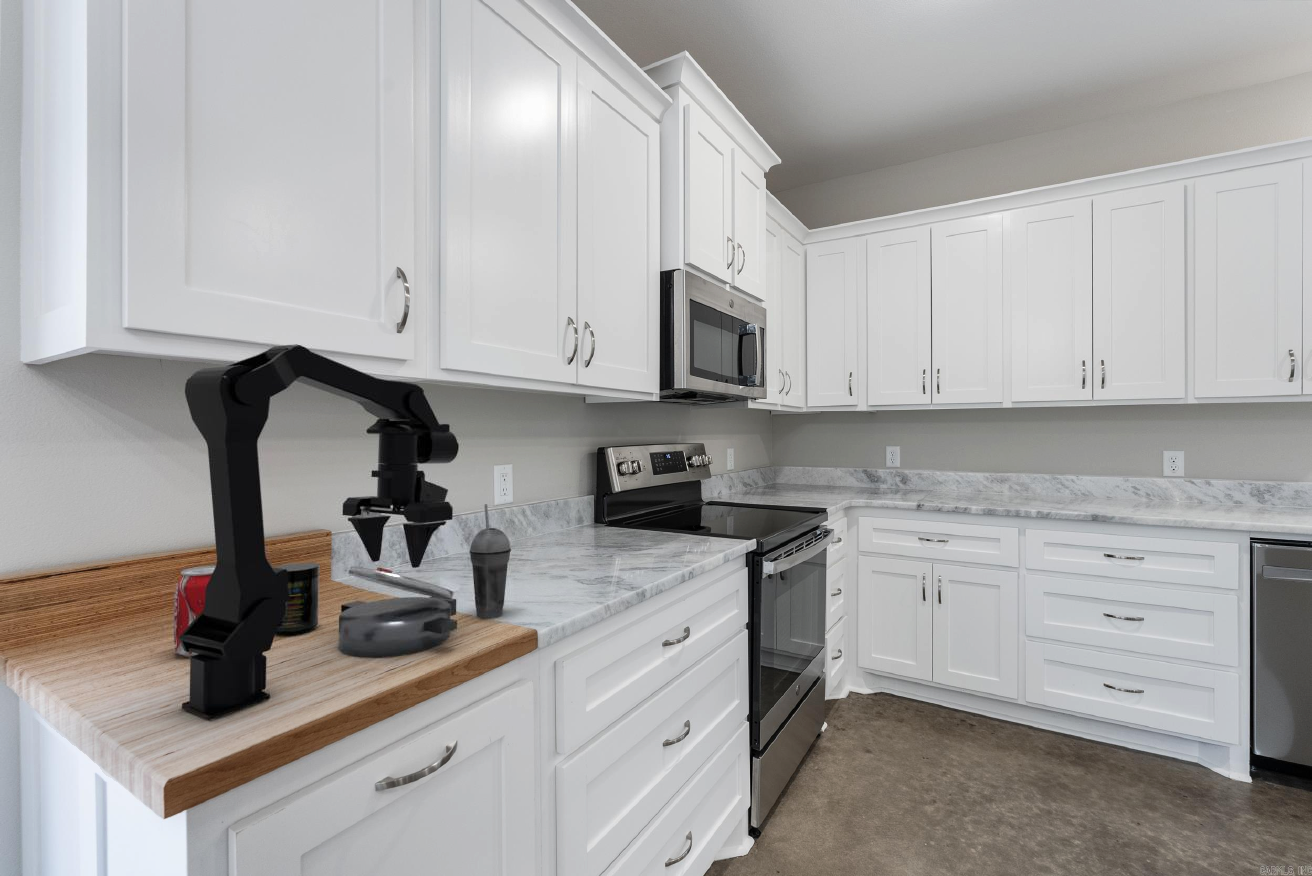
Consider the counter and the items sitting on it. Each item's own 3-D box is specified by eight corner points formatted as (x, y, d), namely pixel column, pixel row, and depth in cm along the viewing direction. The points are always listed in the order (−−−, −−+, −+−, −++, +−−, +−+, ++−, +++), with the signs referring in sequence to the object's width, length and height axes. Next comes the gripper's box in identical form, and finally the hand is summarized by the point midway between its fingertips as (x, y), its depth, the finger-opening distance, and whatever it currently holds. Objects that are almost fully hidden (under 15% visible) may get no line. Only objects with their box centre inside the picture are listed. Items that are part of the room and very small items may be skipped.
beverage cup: (519, 613, 107) (520, 503, 107) (487, 623, 101) (489, 506, 101) (491, 606, 111) (492, 500, 111) (459, 616, 104) (461, 503, 105)
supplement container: (322, 631, 96) (323, 567, 96) (273, 640, 91) (274, 572, 91) (314, 621, 101) (315, 560, 101) (267, 629, 96) (268, 565, 96)
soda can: (201, 661, 82) (202, 575, 82) (160, 657, 83) (161, 573, 84) (246, 644, 89) (247, 565, 89) (207, 641, 90) (208, 563, 90)
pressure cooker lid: (397, 580, 83) (402, 564, 84) (325, 568, 90) (331, 554, 91) (472, 603, 96) (476, 590, 96) (404, 591, 103) (408, 579, 104)
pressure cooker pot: (403, 669, 80) (404, 636, 80) (301, 642, 90) (301, 612, 90) (495, 632, 96) (496, 604, 96) (399, 612, 106) (400, 587, 106)
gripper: (480, 465, 95) (477, 562, 94) (401, 462, 103) (398, 551, 103) (423, 465, 85) (420, 574, 84) (341, 462, 93) (338, 561, 93)
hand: (395, 564), depth 91 cm, fingers open, 9 cm apart
